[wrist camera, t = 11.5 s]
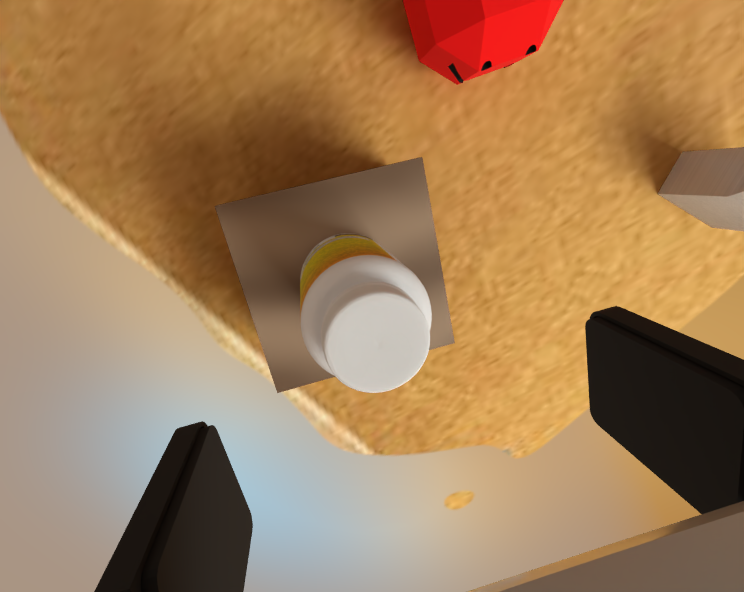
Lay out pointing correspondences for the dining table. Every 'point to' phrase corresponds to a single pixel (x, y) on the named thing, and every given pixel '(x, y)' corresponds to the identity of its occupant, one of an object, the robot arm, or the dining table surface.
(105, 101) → the dining table surface
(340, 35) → the dining table surface
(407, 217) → the walnut box
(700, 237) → the dining table surface
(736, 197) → the white carton
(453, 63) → the ball
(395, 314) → the supplement bottle
